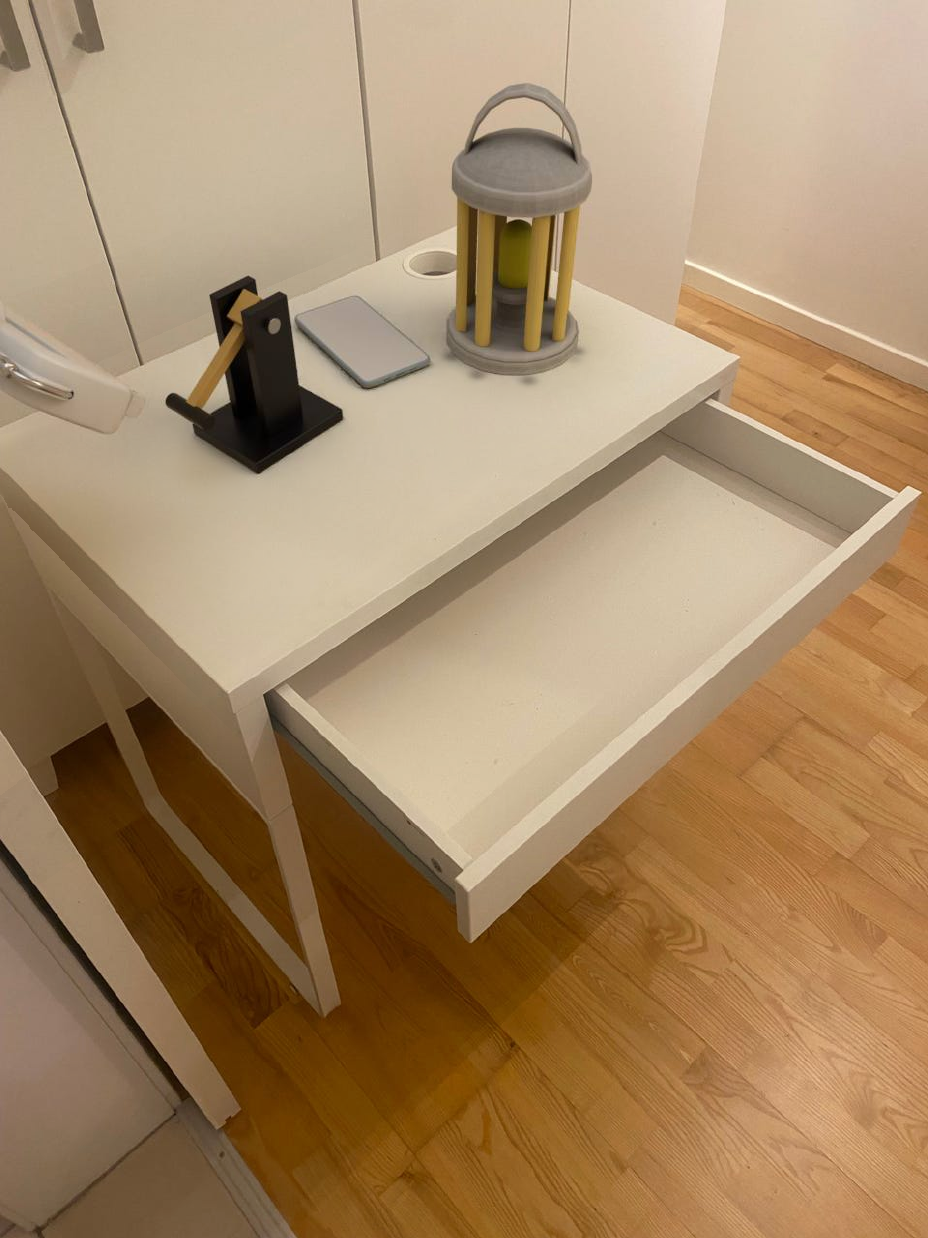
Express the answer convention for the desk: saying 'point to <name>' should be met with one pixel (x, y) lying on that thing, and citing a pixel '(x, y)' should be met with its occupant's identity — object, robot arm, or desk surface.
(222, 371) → the lever
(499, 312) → the lantern
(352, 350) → the smartphone
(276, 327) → the switch bracket
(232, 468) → the desk surface
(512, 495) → the desk surface
